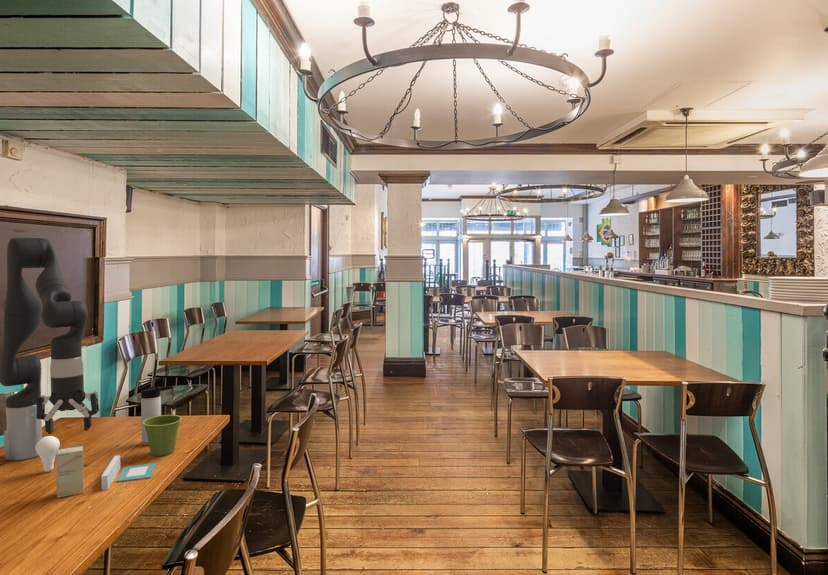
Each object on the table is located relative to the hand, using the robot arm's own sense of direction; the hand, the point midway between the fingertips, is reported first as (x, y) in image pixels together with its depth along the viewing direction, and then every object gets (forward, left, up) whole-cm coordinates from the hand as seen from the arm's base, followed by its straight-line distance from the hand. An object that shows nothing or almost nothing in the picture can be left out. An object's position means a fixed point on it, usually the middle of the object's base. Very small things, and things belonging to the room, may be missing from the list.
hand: (69, 431), depth 141 cm
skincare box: (0, 0, -18) cm, 18 cm away
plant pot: (+20, +25, -18) cm, 36 cm away
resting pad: (+15, +9, -17) cm, 25 cm away
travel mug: (+15, +37, -18) cm, 44 cm away
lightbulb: (-11, +19, -18) cm, 28 cm away
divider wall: (+8, +7, -17) cm, 20 cm away
